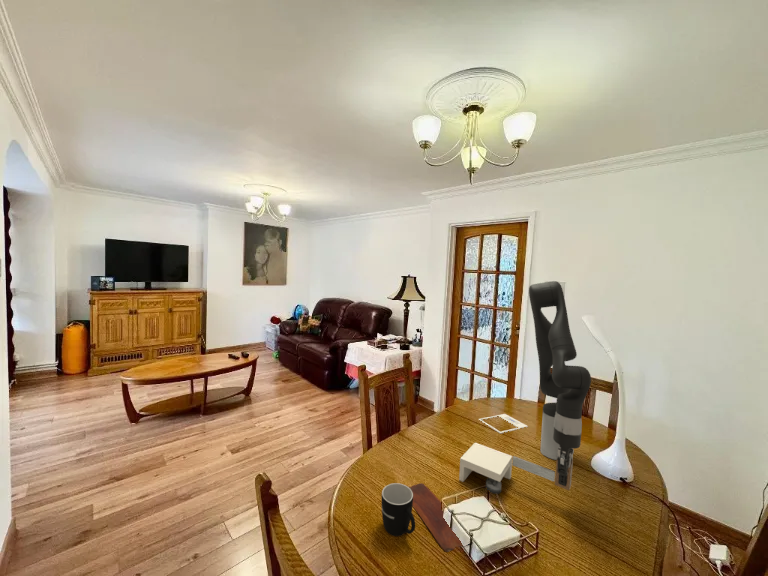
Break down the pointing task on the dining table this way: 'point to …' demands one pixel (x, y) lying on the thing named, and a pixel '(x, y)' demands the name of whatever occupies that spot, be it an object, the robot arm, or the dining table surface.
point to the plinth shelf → (485, 463)
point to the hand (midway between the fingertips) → (563, 480)
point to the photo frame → (509, 419)
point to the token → (493, 486)
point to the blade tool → (543, 471)
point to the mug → (397, 509)
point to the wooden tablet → (434, 517)
